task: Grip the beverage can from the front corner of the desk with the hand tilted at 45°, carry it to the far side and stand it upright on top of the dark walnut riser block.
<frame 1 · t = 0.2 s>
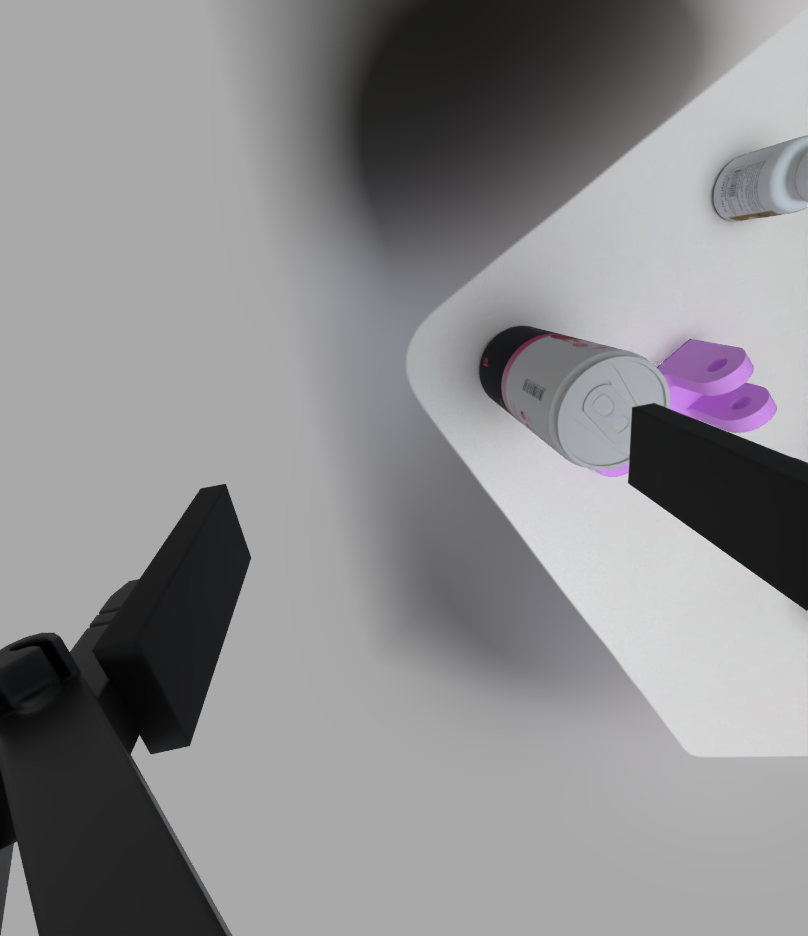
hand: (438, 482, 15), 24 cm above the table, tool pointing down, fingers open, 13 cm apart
pill bottle: (736, 189, 35), on the table
bracket: (642, 413, 41), on the table
beverage can: (515, 366, 38), on the table
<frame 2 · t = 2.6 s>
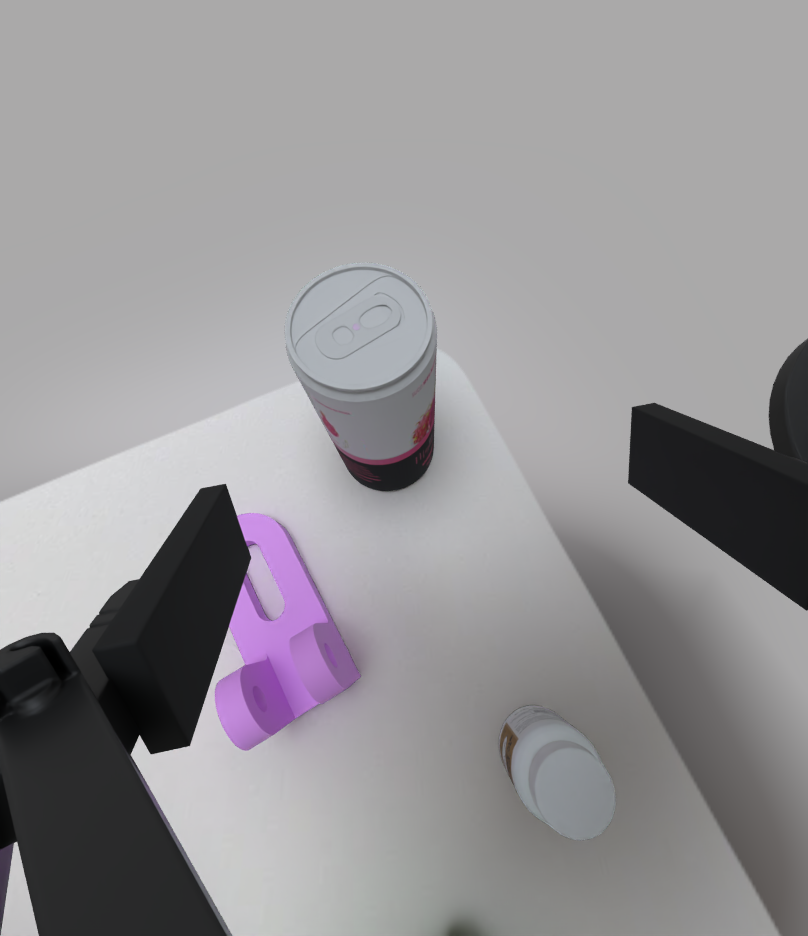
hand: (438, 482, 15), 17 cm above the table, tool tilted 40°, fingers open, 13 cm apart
pill bottle: (534, 744, 27), on the table
bracket: (278, 606, 30), on the table
beverage can: (388, 450, 33), on the table
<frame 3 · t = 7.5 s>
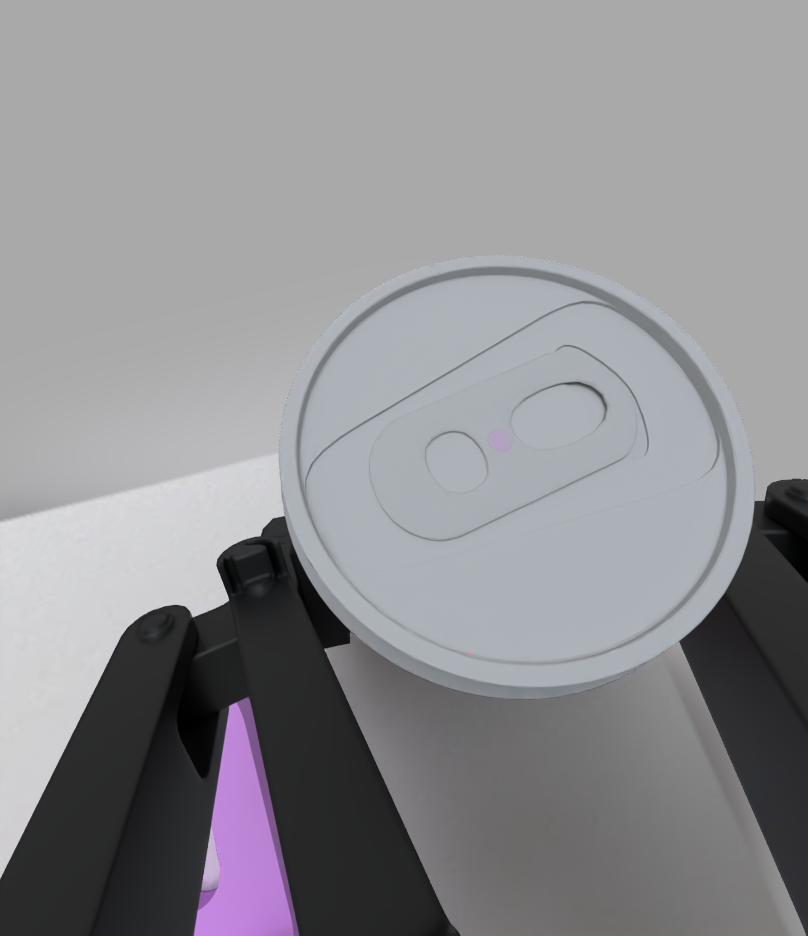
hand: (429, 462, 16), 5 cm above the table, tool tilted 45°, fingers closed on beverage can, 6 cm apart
bracket: (211, 856, 17), on the table
beverage can: (442, 584, 20), on the table, touching gripper
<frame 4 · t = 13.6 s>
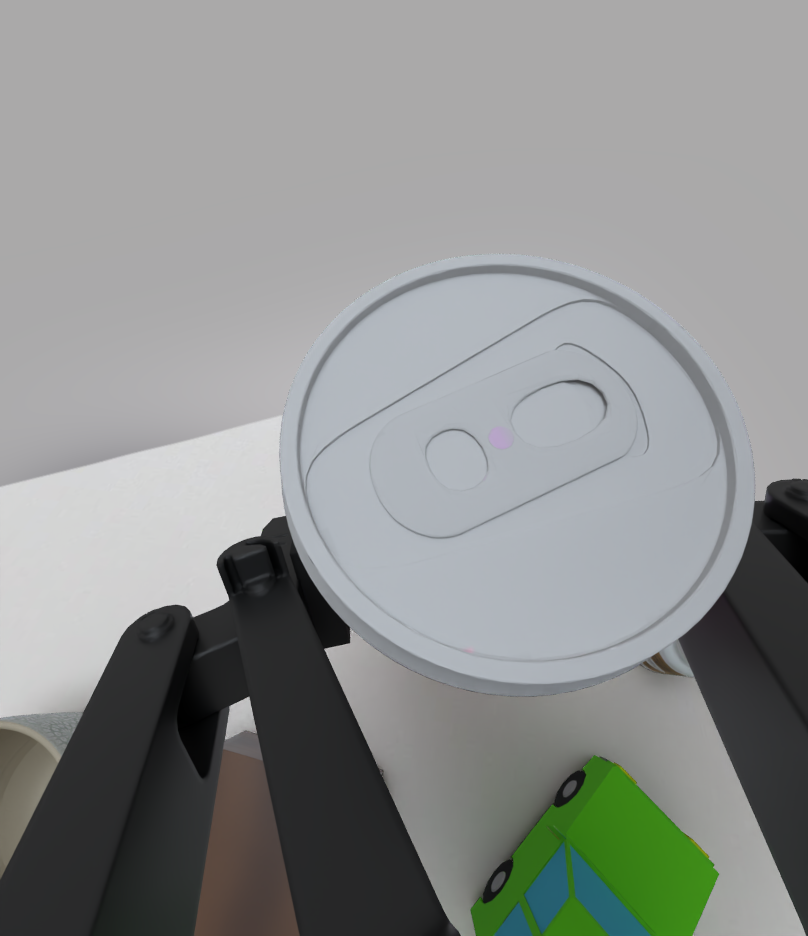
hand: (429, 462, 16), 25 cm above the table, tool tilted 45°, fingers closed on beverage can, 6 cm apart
pill bottle: (654, 643, 37), on the table
toy car: (576, 868, 32), on the table
riser: (289, 836, 32), on the table
planter: (95, 792, 34), on the table
beverage can: (442, 583, 20), point 19 cm above the table, touching gripper
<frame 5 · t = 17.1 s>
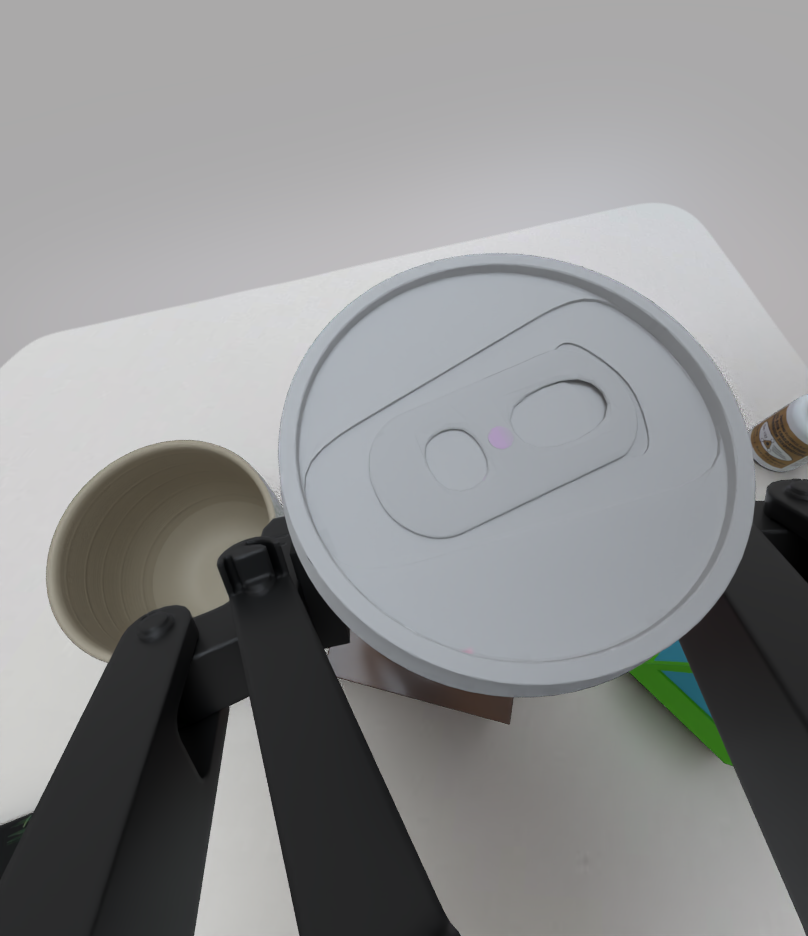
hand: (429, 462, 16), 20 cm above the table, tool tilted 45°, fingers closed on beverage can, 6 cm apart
pill bottle: (770, 449, 38), on the table
toy car: (712, 635, 33), on the table
riser: (430, 609, 33), on the table
planter: (236, 574, 35), on the table
beverage can: (442, 583, 20), point 14 cm above the table, touching gripper
when the fingers open (11 cm above the table, at t = 19.8 s): beverage can stays where it is, resting on riser.
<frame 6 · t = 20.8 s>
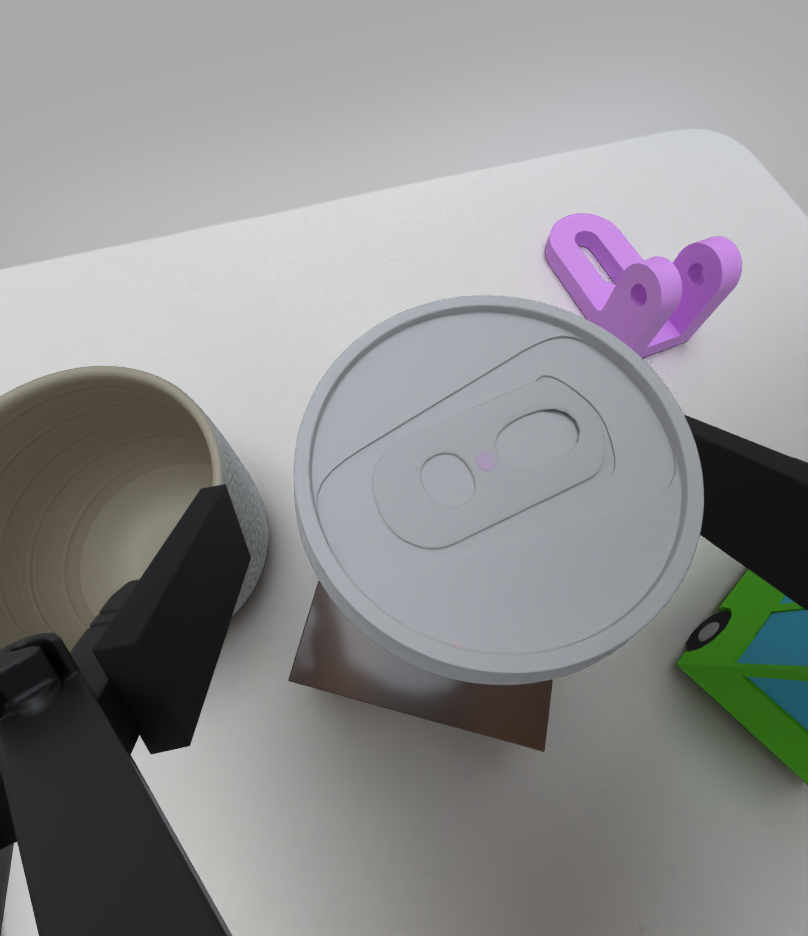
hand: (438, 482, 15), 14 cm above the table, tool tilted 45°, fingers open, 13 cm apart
bracket: (604, 290, 35), on the table
toy car: (792, 631, 26), on the table
riser: (434, 598, 27), on the table
planter: (191, 555, 28), on the table
beverage can: (440, 585, 21), point 6 cm above the table, touching riser
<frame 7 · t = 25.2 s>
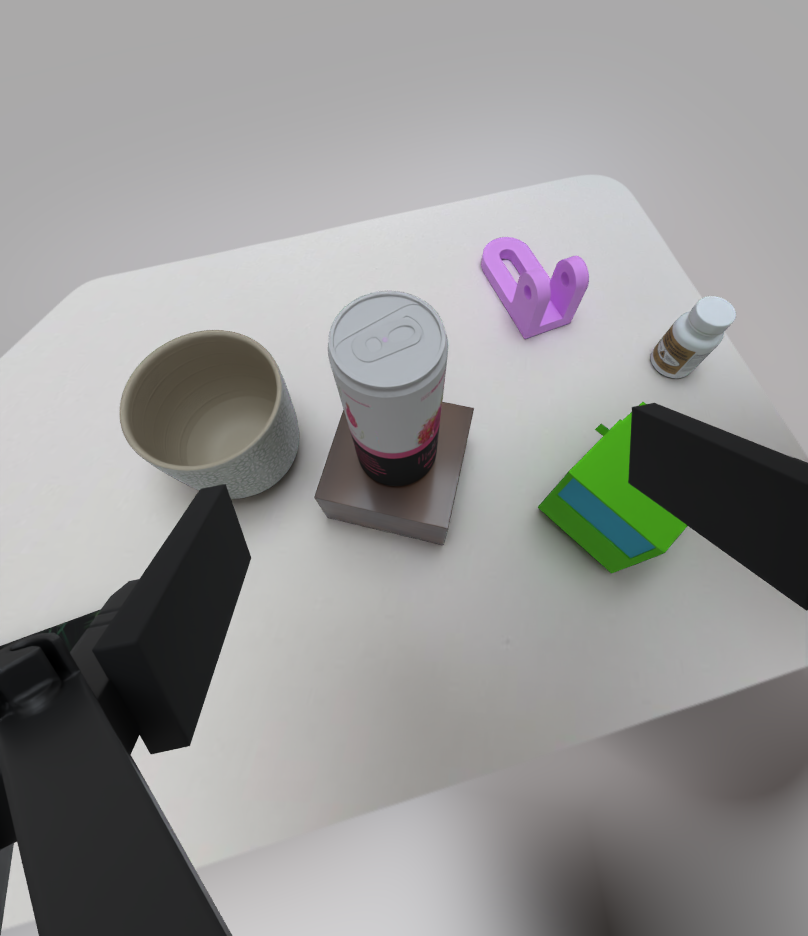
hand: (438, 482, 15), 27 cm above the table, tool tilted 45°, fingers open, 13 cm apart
pill bottle: (669, 362, 48), on the table
bracket: (519, 289, 52), on the table
toy car: (613, 494, 43), on the table
riser: (399, 476, 44), on the table
smartphone: (64, 668, 38), on the table
planter: (249, 453, 45), on the table
beverage can: (397, 452, 38), point 6 cm above the table, touching riser
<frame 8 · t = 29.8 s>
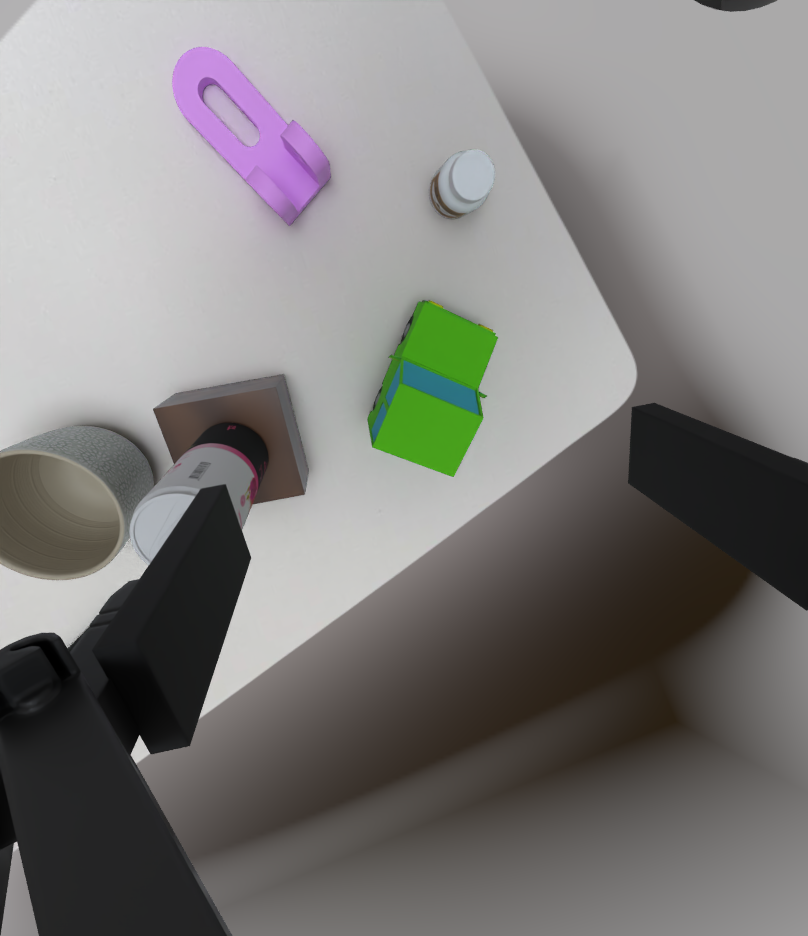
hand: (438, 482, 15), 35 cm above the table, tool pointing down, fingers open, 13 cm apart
pill bottle: (451, 193, 42), on the table
bracket: (251, 138, 39), on the table
toy car: (425, 373, 48), on the table
riser: (245, 434, 48), on the table
planter: (106, 468, 48), on the table
beverage can: (233, 453, 43), point 6 cm above the table, touching riser
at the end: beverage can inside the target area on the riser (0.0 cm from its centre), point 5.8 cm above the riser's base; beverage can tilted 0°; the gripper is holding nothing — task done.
